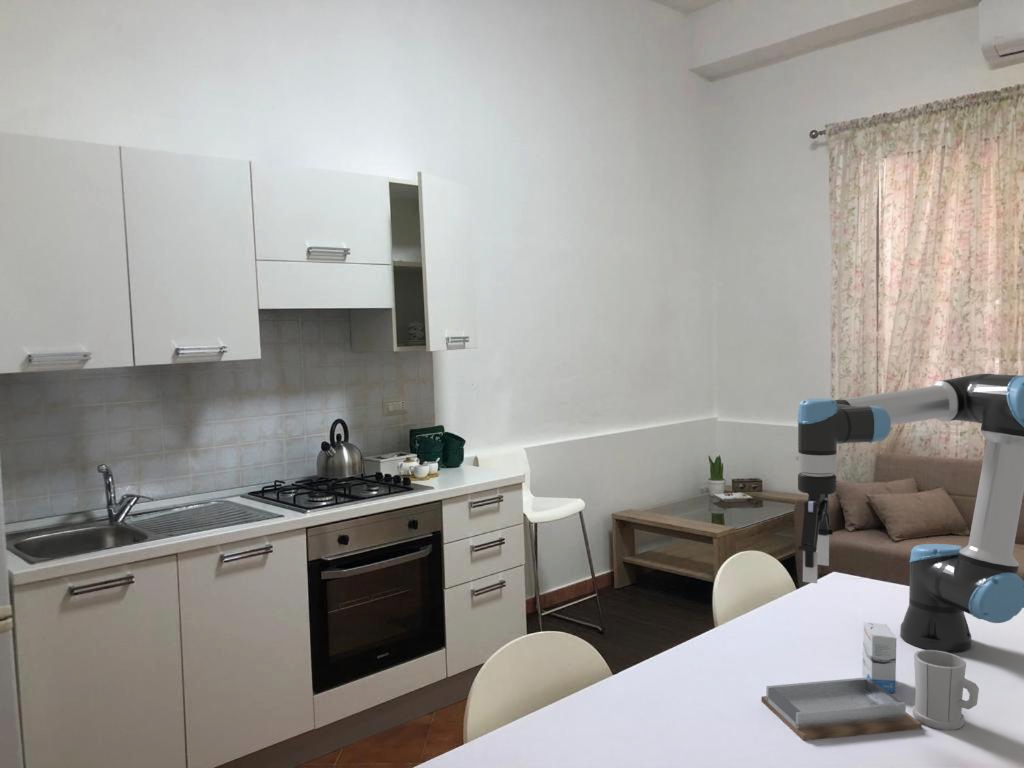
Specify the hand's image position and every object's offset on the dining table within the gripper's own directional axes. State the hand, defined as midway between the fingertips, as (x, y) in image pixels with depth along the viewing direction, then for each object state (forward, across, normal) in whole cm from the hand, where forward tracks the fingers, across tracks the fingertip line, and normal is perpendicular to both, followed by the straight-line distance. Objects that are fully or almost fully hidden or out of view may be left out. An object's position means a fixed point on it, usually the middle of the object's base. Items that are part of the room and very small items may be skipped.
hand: (816, 573), depth 172 cm
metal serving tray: (+23, +14, +6) cm, 28 cm away
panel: (+23, +13, +7) cm, 28 cm away
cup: (+24, +6, +24) cm, 35 cm away
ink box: (+24, -5, +12) cm, 27 cm away
